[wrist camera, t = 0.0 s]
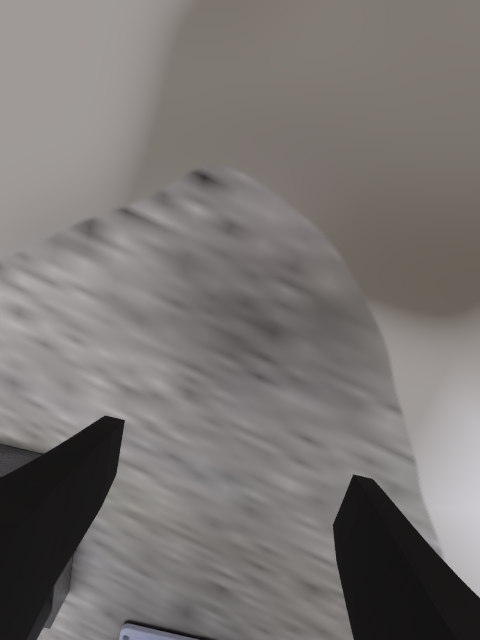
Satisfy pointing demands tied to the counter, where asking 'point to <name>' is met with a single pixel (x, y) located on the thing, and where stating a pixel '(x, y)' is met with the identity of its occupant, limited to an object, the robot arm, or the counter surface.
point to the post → (40, 620)
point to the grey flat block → (10, 459)
